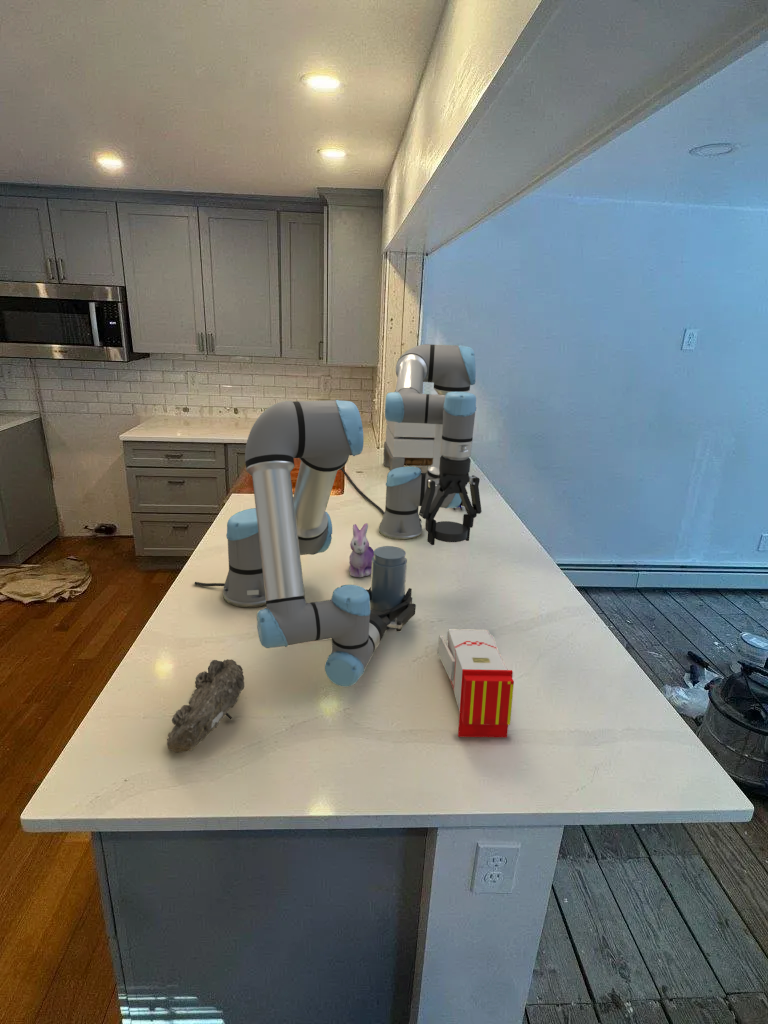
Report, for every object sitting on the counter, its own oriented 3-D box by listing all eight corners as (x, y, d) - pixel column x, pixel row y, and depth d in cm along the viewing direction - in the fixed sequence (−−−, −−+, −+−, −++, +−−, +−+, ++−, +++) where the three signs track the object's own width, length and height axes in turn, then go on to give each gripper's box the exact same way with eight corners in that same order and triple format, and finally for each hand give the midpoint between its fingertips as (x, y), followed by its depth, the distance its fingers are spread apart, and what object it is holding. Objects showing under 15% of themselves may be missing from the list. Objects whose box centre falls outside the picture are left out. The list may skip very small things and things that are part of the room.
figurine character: (467, 515, 225) (461, 499, 238) (469, 498, 221) (463, 482, 235) (450, 514, 224) (445, 498, 238) (452, 497, 221) (447, 482, 234)
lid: (468, 543, 141) (469, 535, 141) (431, 541, 142) (431, 533, 141) (465, 530, 150) (466, 522, 150) (430, 527, 151) (430, 520, 150)
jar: (362, 618, 144) (364, 551, 138) (386, 608, 150) (389, 542, 144) (386, 632, 139) (389, 562, 132) (410, 621, 144) (414, 553, 138)
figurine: (354, 581, 164) (356, 533, 159) (340, 567, 172) (341, 520, 167) (383, 575, 168) (386, 528, 163) (368, 562, 176) (370, 516, 171)
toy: (488, 613, 130) (523, 677, 101) (484, 667, 133) (517, 744, 104) (435, 612, 130) (455, 676, 101) (432, 666, 133) (451, 743, 103)
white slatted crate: (382, 463, 289) (386, 382, 275) (445, 464, 293) (451, 384, 279) (390, 482, 257) (394, 392, 243) (460, 483, 261) (468, 394, 247)
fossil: (192, 660, 117) (244, 628, 112) (224, 691, 120) (276, 661, 115) (142, 746, 98) (202, 712, 93) (182, 779, 101) (242, 748, 96)
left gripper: (320, 639, 130) (353, 595, 151) (410, 658, 125) (432, 610, 145) (320, 610, 128) (353, 570, 148) (412, 628, 122) (434, 583, 143)
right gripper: (421, 462, 132) (415, 551, 139) (502, 458, 140) (492, 542, 147) (408, 455, 139) (403, 539, 146) (486, 451, 146) (477, 531, 154)
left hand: (392, 589), depth 147 cm, fingers closed on jar, 9 cm apart
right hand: (448, 541), depth 147 cm, fingers closed on lid, 9 cm apart
